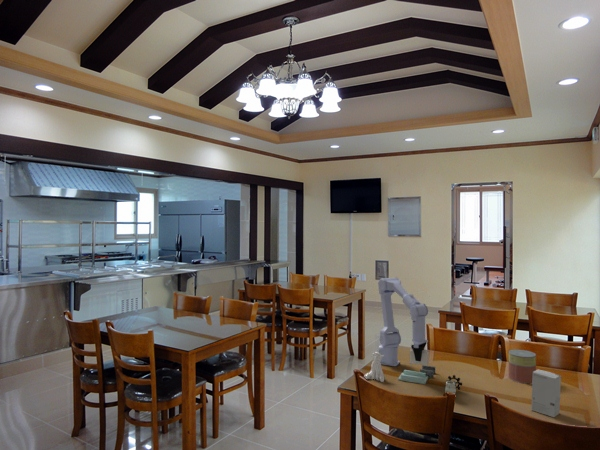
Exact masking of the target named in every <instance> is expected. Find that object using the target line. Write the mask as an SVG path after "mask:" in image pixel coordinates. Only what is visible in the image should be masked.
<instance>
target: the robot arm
mask: <svg viewBox="0 0 600 450" xmlns="http://www.w3.org/2000/svg"><path fill="white" fill-rule="evenodd" d="M377 285H378V292H379V295H380V301H381V302H380V303H381V304H380V305H381V309H382V311H381V312H382V319H383V328H381V329H380V331H379V342H380V344H379V346H378V350H377V352H379V353H380V354H381V356H382V355H384V357H383V358H382V359H381V361H380V363H381V365H382V366H383V365H384V366H390V367H391V366H392V367H397V366H398V365H399V364H400V362H401V361H400V360H399V359H398V356H399V355H398V351H399V349H398V347H399V346H400V344H401V342H402V336H401V334H400V330H399V328H397V327H396V326H395V318H394V311H393V303H392V295H393V294H397V295H398V296H399V297H400V298H402V303H403V305H405V306H406V307H407V308H408V310H409V314H410V317H411V318H410V319H411V321H412V325H411V326H412V339H411V341H412V344H411V345H410V347H411V348H412V349H413V352H414V356H415V360H416V361H421V356H422V351H423V350H425V348H426V346H427V344H428V342H429V340H428V339H426V316H428V314H429V309H428V306H427V304H425V303H422V302H420V301H419V300H418V299H417V298H416V297H415V296H414V294H412V293H409V292H407V290H406V289H405V288H404V287H403V285H402V280H400V279H399V277H398V276H397V277H386V278H385V277H384V278H383V277H382V278H380V279H379V281H378V283H377ZM411 348H410V349H411Z"/></svg>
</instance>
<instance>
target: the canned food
mask: <svg viewBox="0 0 600 450" xmlns="http://www.w3.org/2000/svg"><path fill="white" fill-rule="evenodd" d="M536 370H537V354H536V353H535V352H533V351H530V350H525V349H510V350H508V379H509V380H511V381H512V382H515V383H518V382H519V384H524V383H525V384H527V383H532V379H533V372H534V371H536ZM527 385H528V384H527Z"/></svg>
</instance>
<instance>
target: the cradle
mask: <svg viewBox="0 0 600 450" xmlns="http://www.w3.org/2000/svg"><path fill="white" fill-rule="evenodd" d="M397 378H398V379H397V380H398V381H403V382H409V383H415V384H420V385H426V383H427V382H428V380H429V377H427V376H426V373H423V372H420V371H416V370H415V371H414V370H408V369H404V370H403V372H401V374H399V377H397Z"/></svg>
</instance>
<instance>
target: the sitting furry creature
mask: <svg viewBox="0 0 600 450" xmlns="http://www.w3.org/2000/svg"><path fill="white" fill-rule="evenodd" d="M383 357H384V355H382V356H381V354H380V353H379V352H378V351H376V352H372V356H371V358H372V359H371V360H372V362H371V365H370V368H371V369H370V371H368V372H366V373H365V374H364V375H363V378H364V377H365V378H366V379H367V380H373V379H374V380H375V379H376V380H375V381H380V382H381V383H384V381H385V376H384V372H383V369H382V364H381V363H380V361H381V359H382V358H383ZM366 379H365V380H366Z"/></svg>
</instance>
